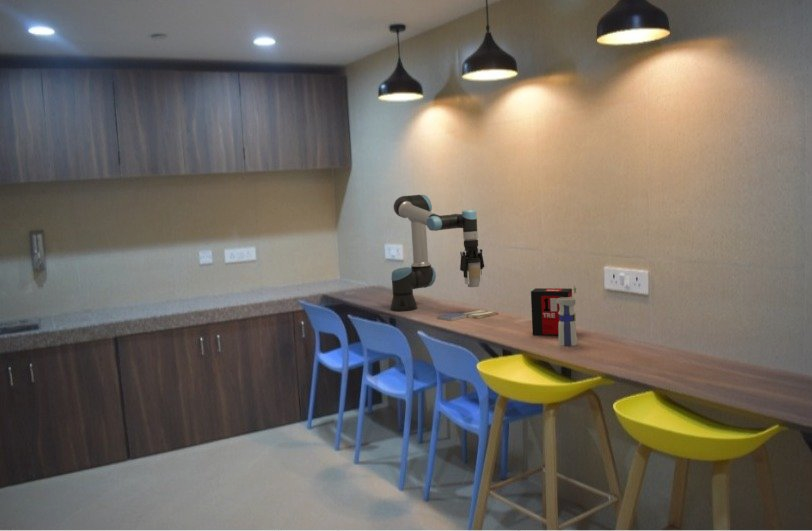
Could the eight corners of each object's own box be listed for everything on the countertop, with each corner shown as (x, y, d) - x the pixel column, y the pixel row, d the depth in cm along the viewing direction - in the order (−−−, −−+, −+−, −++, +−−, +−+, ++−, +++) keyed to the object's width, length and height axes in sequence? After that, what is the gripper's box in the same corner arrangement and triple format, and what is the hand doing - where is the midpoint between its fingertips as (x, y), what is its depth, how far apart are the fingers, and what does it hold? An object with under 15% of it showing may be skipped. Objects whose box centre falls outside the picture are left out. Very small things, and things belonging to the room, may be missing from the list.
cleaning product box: (532, 335, 312) (530, 291, 309) (537, 331, 320) (535, 288, 317) (569, 336, 305) (567, 291, 303) (573, 332, 313) (571, 288, 311)
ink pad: (437, 318, 364) (437, 315, 363) (452, 315, 370) (452, 312, 370) (451, 321, 355) (451, 317, 355) (466, 317, 362) (466, 314, 362)
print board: (458, 315, 368) (458, 313, 368) (478, 311, 377) (478, 309, 377) (478, 318, 356) (478, 316, 356) (498, 314, 365) (498, 311, 365)
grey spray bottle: (578, 341, 295) (575, 283, 292) (578, 346, 286) (576, 286, 284) (558, 341, 297) (556, 284, 294) (558, 346, 288) (555, 287, 285)
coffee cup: (481, 287, 358) (479, 258, 356) (463, 288, 360) (461, 259, 359) (483, 284, 367) (481, 256, 366) (465, 285, 369) (464, 257, 368)
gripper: (460, 241, 352) (463, 285, 354) (490, 237, 364) (492, 280, 367) (451, 241, 358) (453, 284, 360) (480, 237, 370) (482, 279, 373)
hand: (473, 282), depth 364 cm, fingers closed on coffee cup, 8 cm apart
